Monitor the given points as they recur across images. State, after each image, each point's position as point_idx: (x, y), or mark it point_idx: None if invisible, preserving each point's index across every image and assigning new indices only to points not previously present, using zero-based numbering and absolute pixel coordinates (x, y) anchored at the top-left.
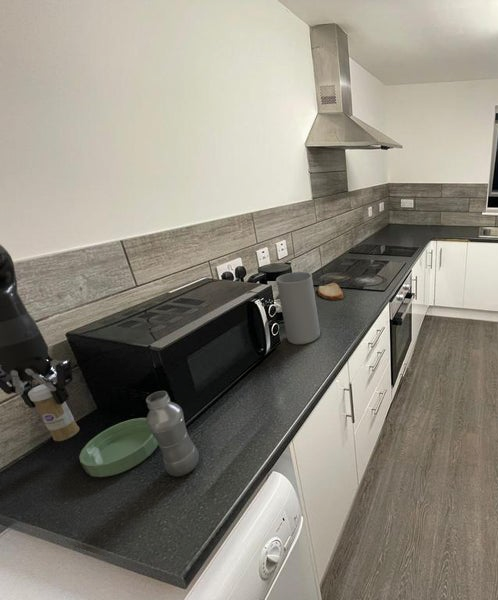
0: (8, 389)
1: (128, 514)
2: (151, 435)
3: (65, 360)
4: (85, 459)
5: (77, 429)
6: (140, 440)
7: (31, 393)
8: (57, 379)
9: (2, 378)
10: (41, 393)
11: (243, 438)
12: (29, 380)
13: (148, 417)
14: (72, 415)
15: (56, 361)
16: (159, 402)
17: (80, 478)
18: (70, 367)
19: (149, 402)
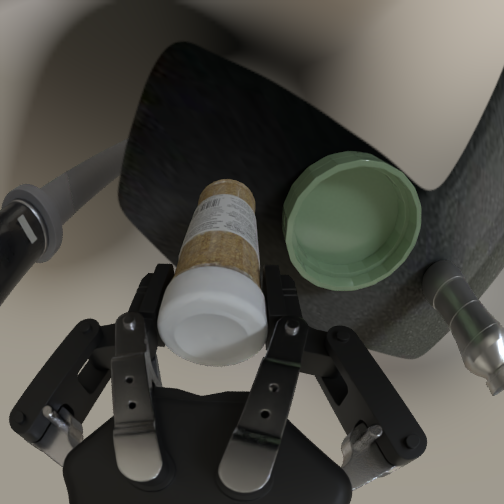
0: (108, 376)
1: (377, 322)
2: (414, 237)
3: (411, 460)
4: (294, 250)
5: (254, 204)
6: (369, 195)
7: (195, 360)
8: (332, 405)
9: (77, 415)
10: (239, 361)
11: (493, 238)
12: (152, 371)
13: (476, 374)
14: (251, 212)
15: (371, 479)
16: (500, 387)
17: (286, 259)
18: (399, 403)
19: (493, 395)
